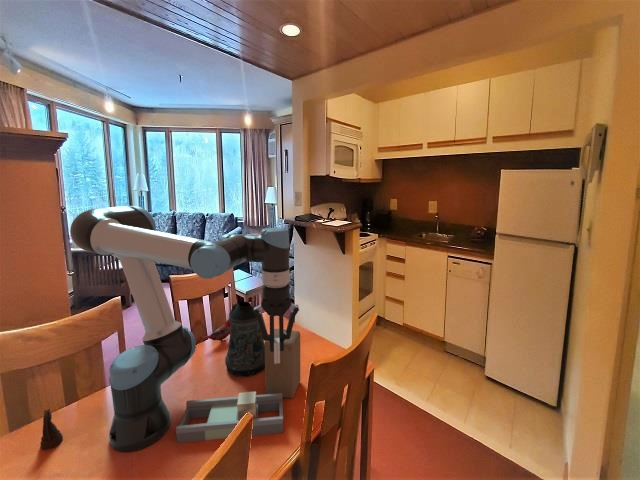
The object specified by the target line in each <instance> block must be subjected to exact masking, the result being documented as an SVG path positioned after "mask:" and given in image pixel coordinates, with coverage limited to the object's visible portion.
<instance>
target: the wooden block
mask: <svg viewBox="0 0 640 480" xmlns="http://www.w3.org/2000/svg"><path fill="white" fill-rule="evenodd" d="M286 330H287V329H284V333H286ZM274 338H279V328H274ZM264 344H265V370H264V375H265V376H264V377H265V378H264V379H265V394H276V393H282V398H286V399H293V398H294V397H295V394H296V392H297V390H298V388H299V384H301V383H300V382H301V332H300V331H299V330H293V329H292V332H291V336H290V339H286V340H284V350H283V351H280V363H276V364H274V352H271V351H270V342H269V341H267V340H266V341H264Z"/></svg>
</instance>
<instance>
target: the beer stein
mask: <svg viewBox="0 0 640 480" xmlns="http://www.w3.org/2000/svg"><path fill="white" fill-rule="evenodd" d="M254 307H255V306H253V305H251V303H250V302H249V301H241V302H239V303H238V302H236V303H234V304H233V305H232V308H231V310H230V312H229V315H228V319H229V321H230V325H231V330H230V334H229V338H228V348H227V353H226V356H225V360H224V363H225V366H226V370H227V372H228V373H229V374H231V375H232V376H235V377H238V378H245V377H246V378H247V377H248V378H249V377H251V376H257V375H258V374H259V373H262V372H263V371H265V341H264V339H263V336H262V333H261V329H260V326H259V322H258V319H257V317H256V315H255V314H254V313H253V311H254Z"/></svg>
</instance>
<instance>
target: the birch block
mask: <svg viewBox="0 0 640 480" xmlns="http://www.w3.org/2000/svg"><path fill="white" fill-rule="evenodd" d="M256 395H257V391H245V392H244V391H243V392H239V393H238V396H237V397H238V402H237V413H238V420H240V419H241V418H242V417H243V416H244V415H245V414H246V413H248V412H250V413H251V414H252V415H253V418H255V417H256Z"/></svg>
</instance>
